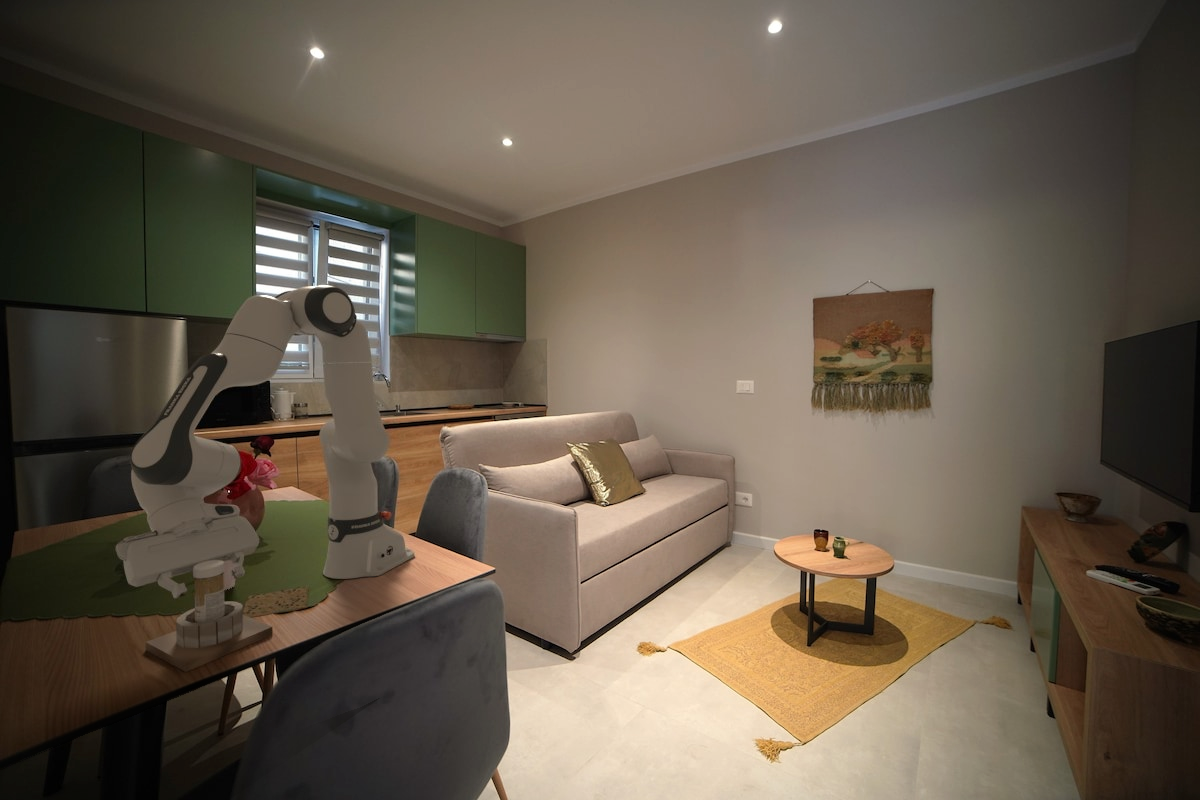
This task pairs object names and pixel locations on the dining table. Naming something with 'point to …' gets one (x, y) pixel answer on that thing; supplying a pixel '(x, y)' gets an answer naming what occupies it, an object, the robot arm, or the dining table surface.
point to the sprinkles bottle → (209, 590)
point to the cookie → (276, 602)
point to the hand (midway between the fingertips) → (211, 585)
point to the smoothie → (228, 575)
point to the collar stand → (207, 637)
